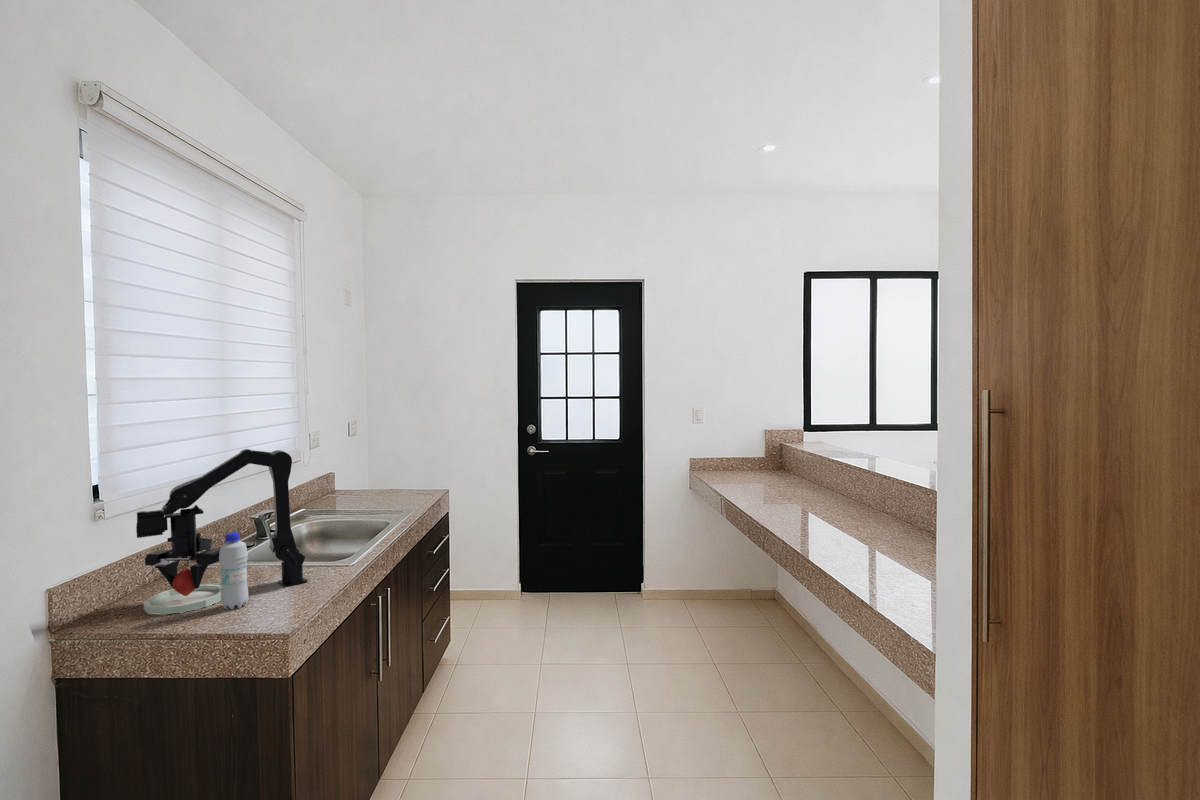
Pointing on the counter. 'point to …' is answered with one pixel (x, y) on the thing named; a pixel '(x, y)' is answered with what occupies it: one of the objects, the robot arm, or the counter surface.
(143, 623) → the counter surface
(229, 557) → the bottle
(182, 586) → the onion
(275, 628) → the counter surface
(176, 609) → the plate
